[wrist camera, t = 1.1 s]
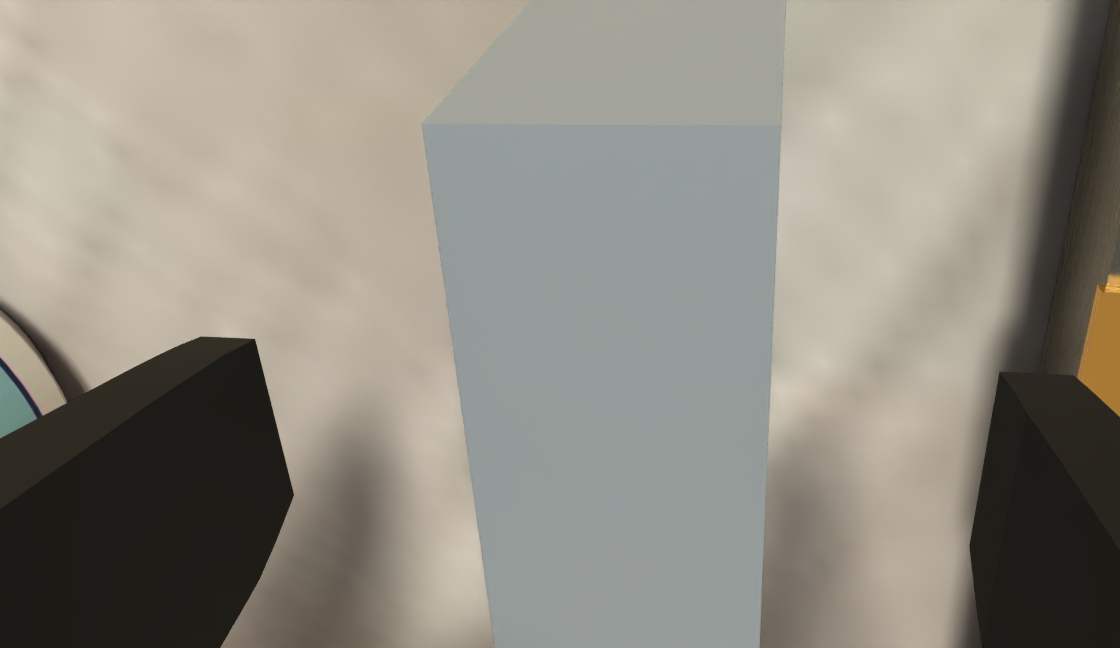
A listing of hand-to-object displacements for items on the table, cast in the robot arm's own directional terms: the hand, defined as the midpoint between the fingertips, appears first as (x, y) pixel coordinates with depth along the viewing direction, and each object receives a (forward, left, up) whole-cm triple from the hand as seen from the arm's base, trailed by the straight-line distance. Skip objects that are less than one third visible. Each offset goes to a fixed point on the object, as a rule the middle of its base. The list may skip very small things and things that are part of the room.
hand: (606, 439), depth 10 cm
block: (0, 0, -6) cm, 6 cm away
